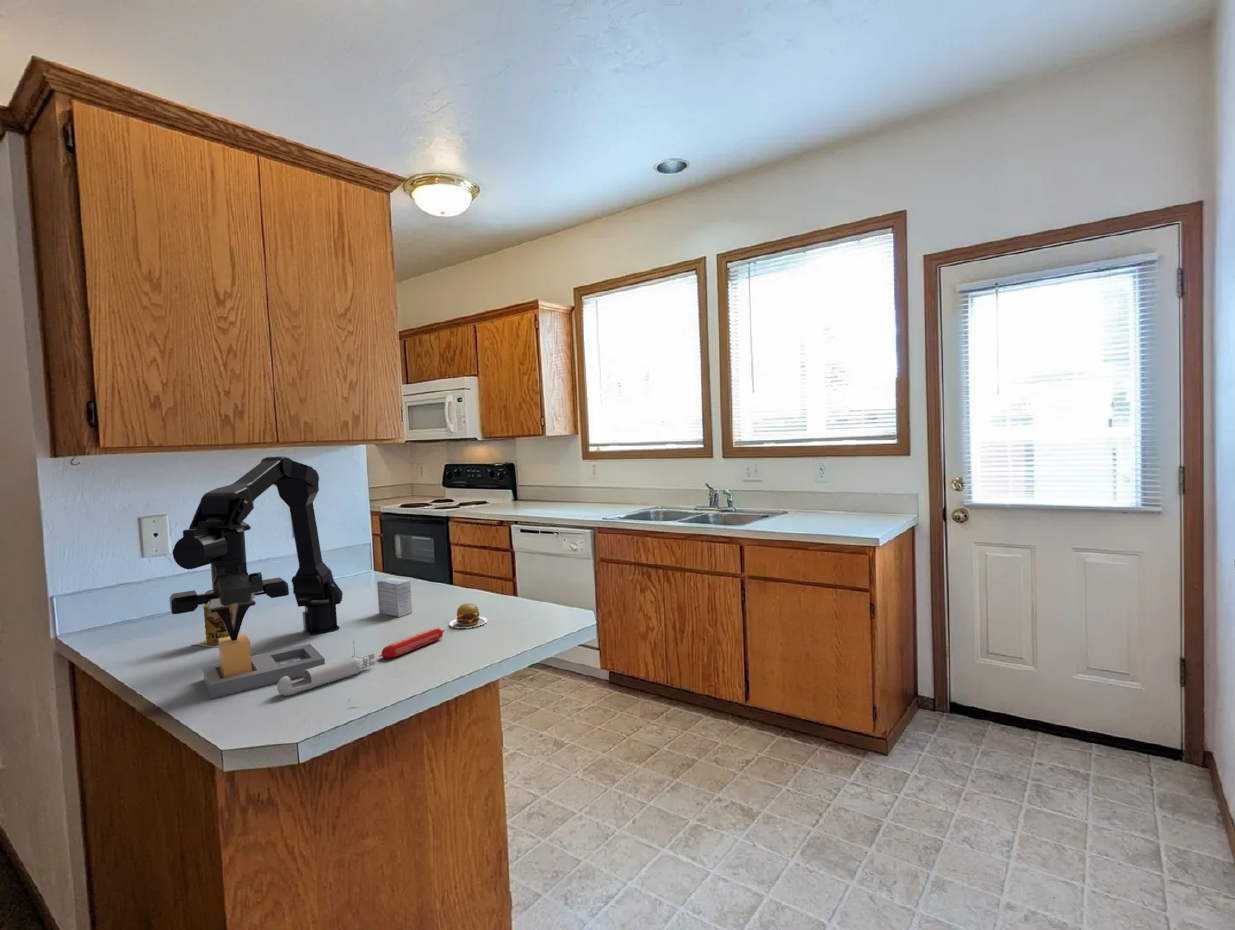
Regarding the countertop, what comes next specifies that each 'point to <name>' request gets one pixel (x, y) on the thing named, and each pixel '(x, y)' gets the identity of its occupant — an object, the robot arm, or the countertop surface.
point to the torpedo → (324, 674)
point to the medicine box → (394, 597)
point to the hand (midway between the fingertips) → (233, 639)
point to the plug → (234, 656)
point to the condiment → (214, 626)
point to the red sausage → (411, 643)
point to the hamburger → (468, 616)
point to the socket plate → (263, 670)
